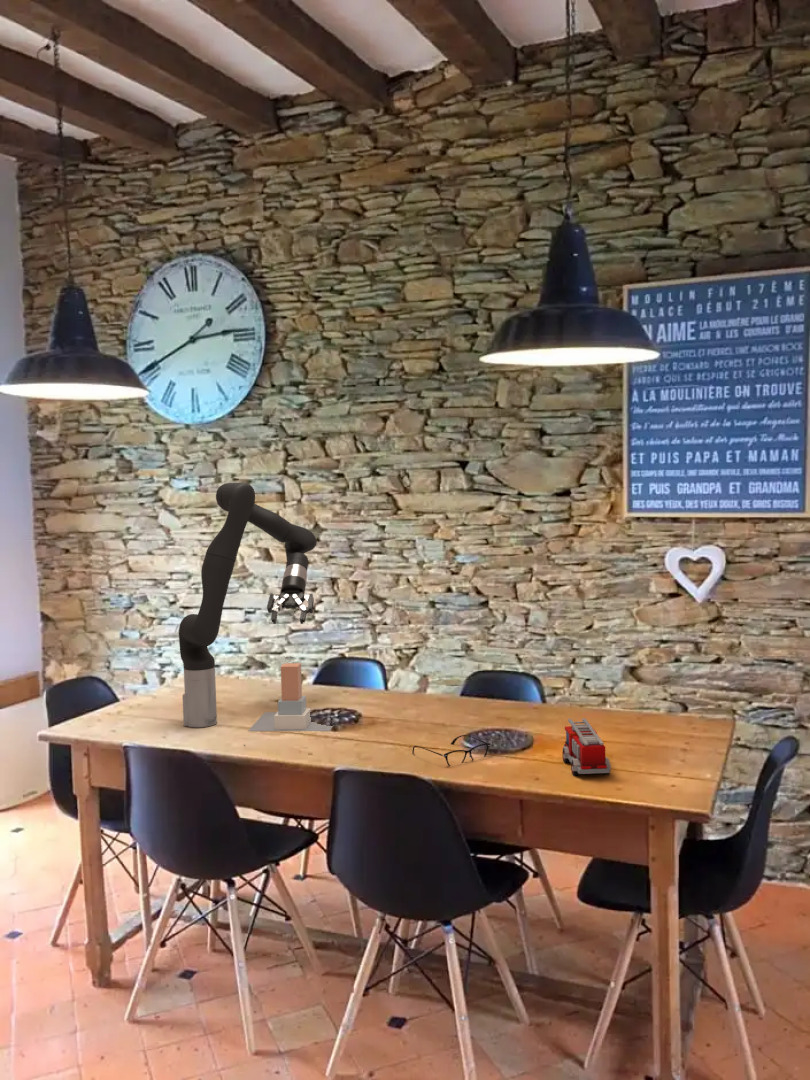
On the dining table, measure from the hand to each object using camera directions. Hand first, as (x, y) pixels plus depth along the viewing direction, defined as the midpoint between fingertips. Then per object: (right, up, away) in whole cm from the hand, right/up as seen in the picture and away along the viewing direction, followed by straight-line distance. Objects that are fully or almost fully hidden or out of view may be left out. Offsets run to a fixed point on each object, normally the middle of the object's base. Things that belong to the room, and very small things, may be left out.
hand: (287, 622), depth 287 cm
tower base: (+3, -29, -13) cm, 32 cm away
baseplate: (+3, -30, -8) cm, 31 cm away
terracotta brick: (+3, -21, -13) cm, 25 cm away
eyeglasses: (+48, -31, -43) cm, 72 cm away
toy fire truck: (+81, -31, -57) cm, 104 cm away
